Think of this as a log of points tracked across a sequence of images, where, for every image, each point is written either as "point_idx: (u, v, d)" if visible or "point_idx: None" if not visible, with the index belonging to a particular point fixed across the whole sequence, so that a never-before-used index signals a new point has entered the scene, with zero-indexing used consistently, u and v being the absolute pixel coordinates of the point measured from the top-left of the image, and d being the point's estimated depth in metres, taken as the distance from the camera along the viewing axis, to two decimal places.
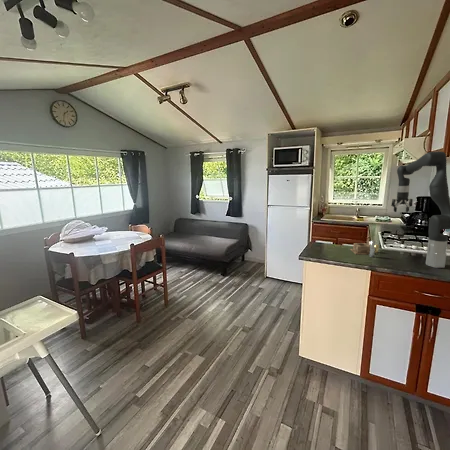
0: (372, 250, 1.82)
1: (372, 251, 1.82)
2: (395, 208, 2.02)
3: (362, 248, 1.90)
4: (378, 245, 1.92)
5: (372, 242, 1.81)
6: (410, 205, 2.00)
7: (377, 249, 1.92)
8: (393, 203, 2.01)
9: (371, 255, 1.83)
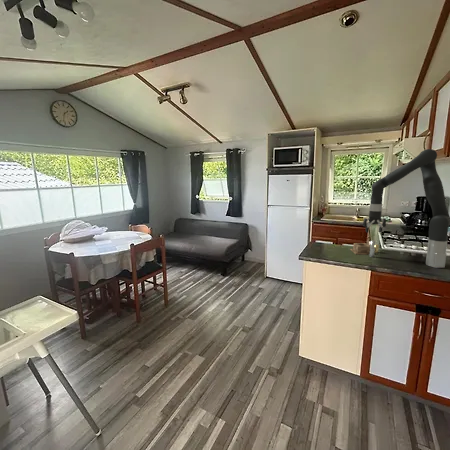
0: (372, 250, 1.82)
1: (372, 251, 1.82)
2: (367, 228, 1.80)
3: (362, 248, 1.90)
4: (378, 245, 1.92)
5: (372, 242, 1.81)
6: (383, 225, 1.78)
7: (377, 249, 1.92)
8: (364, 223, 1.80)
9: (371, 255, 1.83)
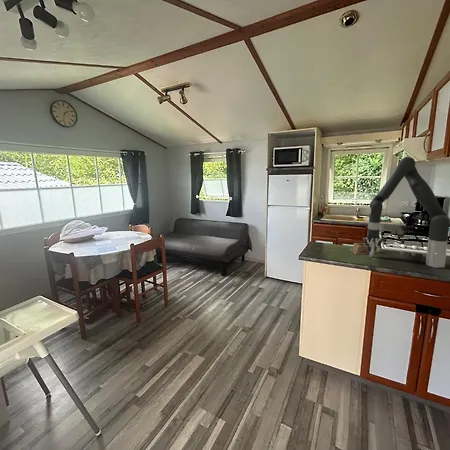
0: (372, 250, 1.82)
1: (372, 251, 1.82)
2: (369, 247, 1.83)
3: (362, 248, 1.90)
4: None
5: (372, 242, 1.81)
6: (378, 244, 1.81)
7: (377, 249, 1.92)
8: (365, 243, 1.82)
9: (371, 255, 1.83)
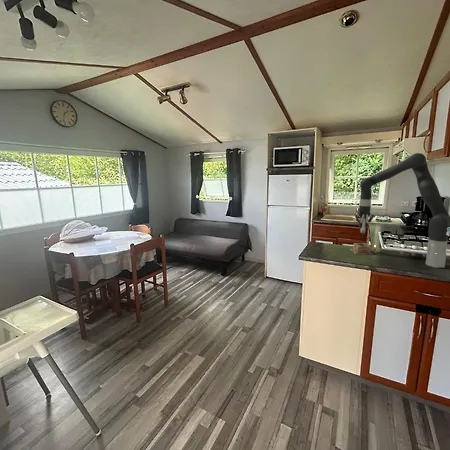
0: (363, 226, 1.90)
1: (363, 227, 1.90)
2: (360, 224, 1.91)
3: (362, 248, 1.90)
4: (378, 245, 1.92)
5: (363, 218, 1.89)
6: (369, 221, 1.89)
7: (377, 249, 1.92)
8: (357, 219, 1.90)
9: (362, 231, 1.91)
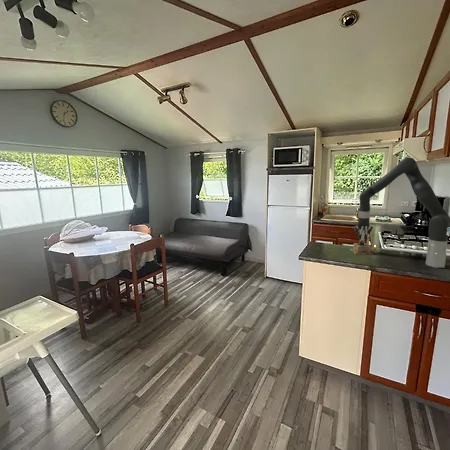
0: (362, 238, 1.92)
1: (362, 239, 1.92)
2: (359, 235, 1.93)
3: (362, 248, 1.90)
4: (378, 245, 1.92)
5: (362, 230, 1.91)
6: (368, 232, 1.91)
7: (377, 249, 1.92)
8: (356, 231, 1.92)
9: (361, 242, 1.93)
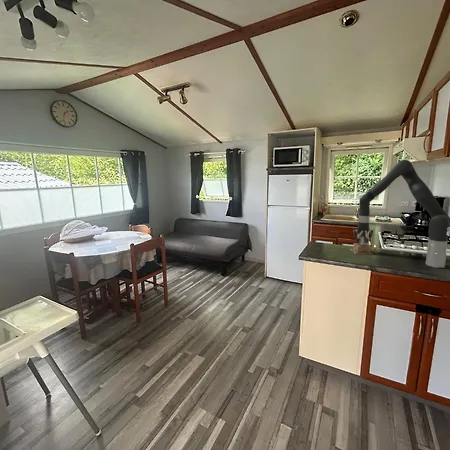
0: None
1: None
2: (357, 239, 1.93)
3: (362, 248, 1.90)
4: (378, 245, 1.92)
5: (361, 238, 1.92)
6: (369, 236, 1.91)
7: (377, 249, 1.92)
8: (354, 234, 1.92)
9: None
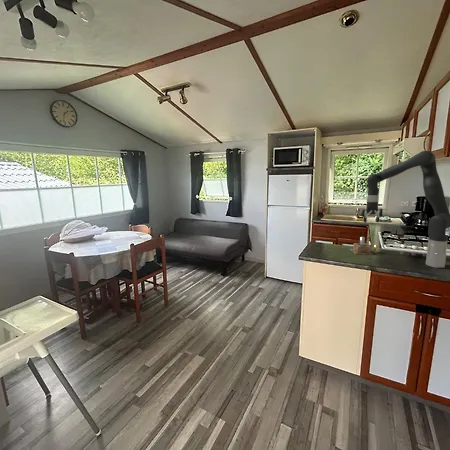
0: None
1: None
2: (365, 218, 1.91)
3: (362, 248, 1.90)
4: (378, 245, 1.92)
5: (362, 238, 1.92)
6: (380, 215, 1.89)
7: (377, 249, 1.92)
8: (363, 213, 1.90)
9: None
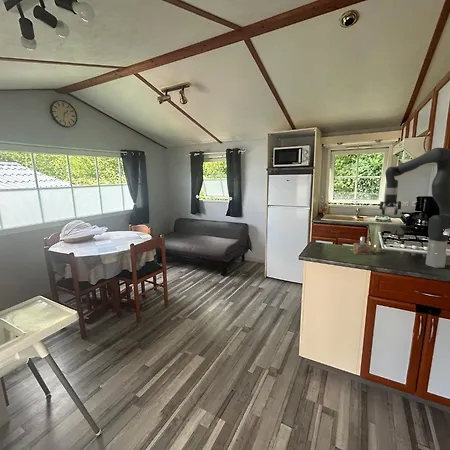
0: None
1: None
2: (383, 211, 1.93)
3: (362, 248, 1.90)
4: (378, 245, 1.92)
5: (362, 238, 1.92)
6: (399, 208, 1.91)
7: (377, 249, 1.92)
8: (381, 206, 1.92)
9: None
